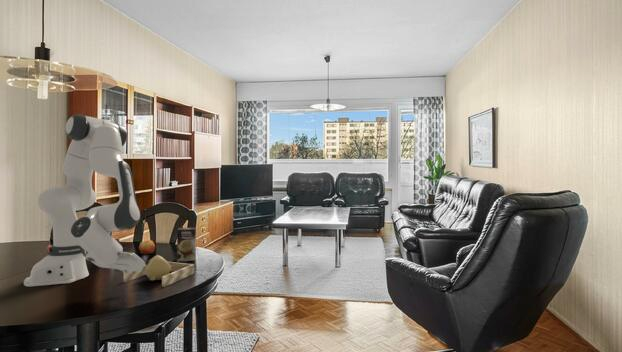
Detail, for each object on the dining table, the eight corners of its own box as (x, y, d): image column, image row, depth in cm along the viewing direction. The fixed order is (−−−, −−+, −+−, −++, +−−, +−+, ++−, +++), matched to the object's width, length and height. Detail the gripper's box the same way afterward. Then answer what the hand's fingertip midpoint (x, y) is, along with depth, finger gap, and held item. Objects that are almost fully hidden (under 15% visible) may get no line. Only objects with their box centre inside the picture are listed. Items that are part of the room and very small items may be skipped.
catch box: (164, 287, 145) (163, 277, 145) (123, 281, 151) (123, 272, 151) (194, 273, 164) (194, 264, 164) (157, 269, 170) (157, 260, 170)
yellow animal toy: (166, 274, 162) (166, 250, 162) (173, 281, 152) (173, 256, 152) (142, 278, 156) (142, 253, 156) (147, 285, 146) (147, 259, 146)
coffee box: (176, 261, 183) (176, 229, 183) (177, 258, 190) (177, 227, 189) (195, 260, 186) (195, 229, 185) (196, 257, 192) (196, 226, 192)
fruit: (158, 248, 207) (155, 237, 202) (154, 258, 200) (150, 247, 196) (144, 248, 206) (141, 237, 202) (139, 258, 200) (135, 247, 195)
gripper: (136, 246, 130) (156, 266, 140) (91, 242, 136) (113, 262, 146) (126, 262, 126) (147, 282, 136) (81, 257, 132) (104, 276, 142)
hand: (129, 271), depth 141 cm, fingers closed
